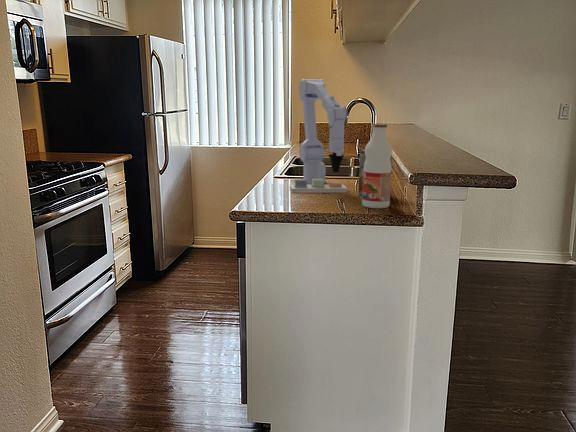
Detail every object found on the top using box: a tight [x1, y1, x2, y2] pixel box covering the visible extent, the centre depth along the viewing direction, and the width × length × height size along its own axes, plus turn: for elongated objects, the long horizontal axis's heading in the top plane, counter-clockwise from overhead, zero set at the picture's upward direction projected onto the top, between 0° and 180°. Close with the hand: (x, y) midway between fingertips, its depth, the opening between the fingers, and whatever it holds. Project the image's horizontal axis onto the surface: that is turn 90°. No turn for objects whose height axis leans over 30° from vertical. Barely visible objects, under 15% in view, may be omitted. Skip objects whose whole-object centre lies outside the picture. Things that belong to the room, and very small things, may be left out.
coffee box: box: [358, 151, 366, 196], centre depth 198 cm, size 9×6×16 cm
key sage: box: [312, 179, 325, 186], centre depth 207 cm, size 4×4×2 cm
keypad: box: [289, 183, 348, 194], centre depth 208 cm, size 22×10×2 cm, turn 95°
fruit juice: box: [361, 123, 393, 209], centre depth 175 cm, size 9×9×28 cm
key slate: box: [294, 178, 308, 186], centre depth 206 cm, size 4×4×2 cm
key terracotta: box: [328, 181, 343, 187], centre depth 208 cm, size 4×4×2 cm
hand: (335, 172), depth 207 cm, fingers closed
